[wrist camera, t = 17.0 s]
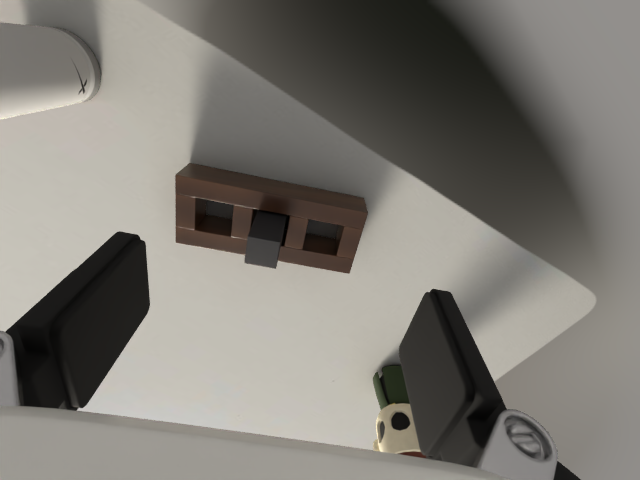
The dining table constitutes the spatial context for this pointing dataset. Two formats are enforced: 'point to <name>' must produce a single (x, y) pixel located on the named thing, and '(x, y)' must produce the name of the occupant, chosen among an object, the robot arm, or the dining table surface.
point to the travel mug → (44, 69)
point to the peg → (265, 239)
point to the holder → (274, 197)
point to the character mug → (394, 415)
